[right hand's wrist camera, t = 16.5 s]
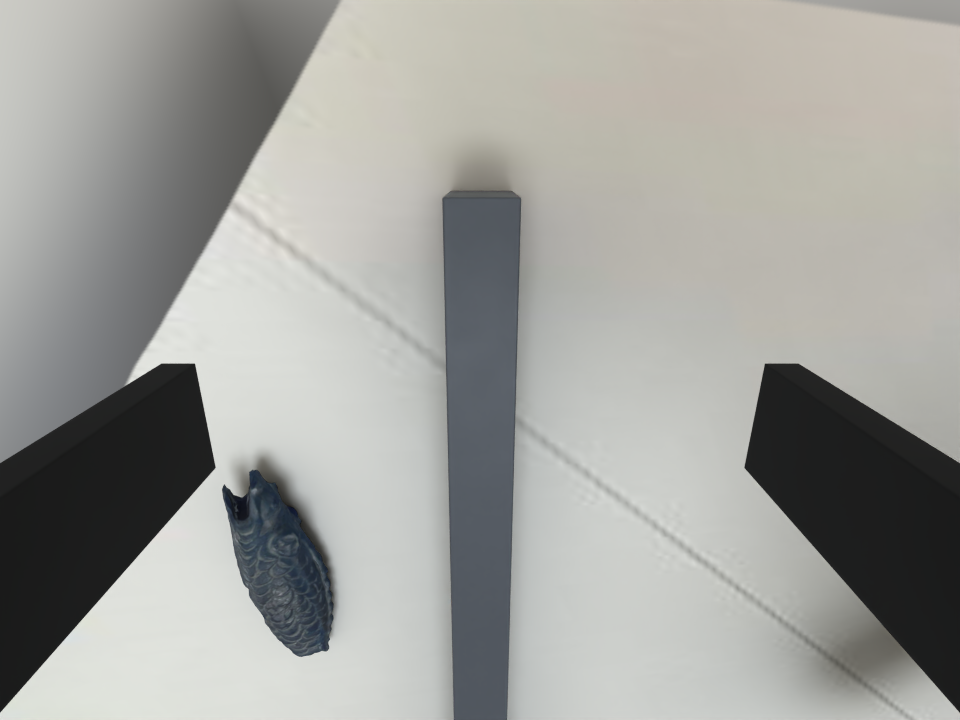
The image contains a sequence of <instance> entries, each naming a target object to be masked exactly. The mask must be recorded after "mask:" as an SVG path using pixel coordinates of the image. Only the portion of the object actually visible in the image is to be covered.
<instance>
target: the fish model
mask: <svg viewBox="0 0 960 720" xmlns="http://www.w3.org/2000/svg"><path fill="white" fill-rule="evenodd" d="M249 475H250V487H249V491H248V493H247V494H246V495H245V496H244V497H242V498H241V497H238V496H235V495H233V494H232V492H231V491H230V489H228V488H227V487H226V486H225V484H224V486H223V489H222V492H223V499H224V502H225V506H226V510H227V512H228V519H229V522H230V527H231V533H232V538H233V545H234V551H235V556H236V559H237V564H238V567H239V570H240V574H241V577H242V581H243V583H244V585H245V587H247V588H248V589H249V596H250V598H251V600H252V601H253V603H254V604H255V606H256V607H257V608H258V610H259V611H260V612H261V614H262V615H263V617H264V619H265V623H266V625H267V626H268V627H269V628H270V630H271V631H272V632H273V634H274V635H275V636H276V637H277V639H278V640H279V641H281V642H282V643H283V644H284V645H285V646H286V647H287V648H289V649H290V650H291V651H292V652H293V653H294V654H295V655H297V656H299V657H302V656H308V655H312V654H314V653H317V652H320V651H328V649H329V645H328V641H329V640H330V638H329V634H330V631H331V623H332V621H333V615H332V610H333V603H332V601H331V598H332V593H331V591H330V590H329V588H330V580H329V579H328V577H327V575H326V573H327V572H328V569H327V568H326V566H325V565H324V563H323V562H322V557H321V555H320V553H319V552H318V551H317V550H315V546H314V545H313V544H312V542H311V541H310V540H309V538H308V537H307V536H306V534H305V533H304V532H303V530H302V529H301V527H300V523H301V520H300V519H299V517H298V513H297V511H296V510H295V509H294V508H292V507H289V506H286V505H285V504H284V503H283V501H282V500H281V497H280V495H279V493H278V488H277V485H276V483H268V482H266V481H265V480H264V479H263V478H262V476H261V474H260V473H259V472H258V471H257V470H252V471H250V472H249Z"/></svg>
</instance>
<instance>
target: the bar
mask: <svg viewBox="0 0 960 720" xmlns="http://www.w3.org/2000/svg"><path fill="white" fill-rule="evenodd" d="M520 219H521V198H520V197H519V196H518V195H516V194H515V193H514V192H512V191H450V192H449V193H448V194H447V195H446V196H444V197H443V242H444V288H445V333H446V379H447V424H448V470H449V515H450V561H451V606H452V652H453V697H454V720H507V699H508V662H509V625H510V588H511V551H512V514H513V477H514V440H515V403H516V367H517V330H518V293H519V256H520Z"/></svg>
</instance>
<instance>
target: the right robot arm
mask: <svg viewBox="0 0 960 720" xmlns="http://www.w3.org/2000/svg"><path fill="white" fill-rule="evenodd" d="M214 469H215V463H214V457H213V452H212V447H211V442H210V437H209V432H208V427H207V422H206V417H205V412H204V407H203V402H202V397H201V392H200V387H199V382H198V377H197V372H196V367H195V364H160V365H159V366H157V367H155V368H154V369H152V370H151V371H149V372H147V373H146V374H144V375H142V376H141V377H139V378H138V379H136V380H134V381H133V382H131V383H130V384H128V385H126V386H125V387H123V388H122V389H120V390H118V391H117V392H115V393H113V394H112V395H110V396H108V397H107V398H105V399H104V400H102V401H100V402H99V403H97V404H96V405H94V406H92V407H91V408H89V409H87V410H86V411H84V412H83V413H81V414H79V415H78V416H76V417H74V418H73V419H71V420H70V421H68V422H66V423H65V424H63V425H62V426H60V427H58V428H57V429H55V430H53V431H52V432H50V433H49V434H47V435H45V436H44V437H42V438H41V439H39V440H37V441H36V442H34V443H32V444H31V445H29V446H27V447H26V448H24V449H23V450H21V451H19V452H18V453H16V454H15V455H13V456H11V457H10V458H8V459H6V460H5V461H3V462H2V463H0V712H1V711H2V710H3V709H4V708H5V706H6V705H7V704H8V703H9V702H10V701H11V700H12V699H13V697H14V696H15V695H16V694H17V693H18V692H19V691H20V689H21V688H22V687H23V686H24V685H25V684H26V683H27V681H28V680H29V679H30V678H31V677H32V676H33V675H34V674H35V672H36V671H37V670H38V669H39V668H40V667H41V666H42V664H43V663H44V662H45V661H46V660H47V659H48V658H49V656H50V655H51V654H52V653H53V652H54V651H55V650H56V649H57V647H58V646H59V645H60V644H61V643H62V642H63V641H64V639H65V638H66V637H67V636H68V635H69V634H70V633H71V631H72V630H73V629H74V628H75V627H76V626H77V625H78V624H79V622H80V621H81V620H82V619H83V618H84V617H85V616H86V614H87V613H88V612H89V611H90V610H91V609H92V608H93V606H94V605H95V604H96V603H97V602H98V601H99V600H100V599H101V597H102V596H103V595H104V594H105V593H106V592H107V591H108V589H109V588H110V587H111V586H112V585H113V584H114V583H115V581H116V580H117V579H118V578H119V577H120V576H121V575H122V574H123V572H124V571H125V570H126V569H127V568H128V567H129V566H130V564H131V563H132V562H133V561H134V560H135V559H136V558H137V556H138V555H139V554H140V553H141V552H142V551H143V550H144V548H145V547H146V546H147V545H148V544H149V543H150V542H151V541H152V539H153V538H154V537H155V536H156V535H157V534H158V533H159V531H160V530H161V529H162V528H163V527H164V526H165V525H166V523H167V522H168V521H169V520H170V519H171V518H172V517H173V516H174V514H175V513H176V512H177V511H178V510H179V509H180V508H181V506H182V505H183V504H184V503H185V502H186V501H187V500H188V498H189V497H190V496H191V495H192V494H193V493H194V492H195V491H196V489H197V488H198V487H199V486H200V485H201V484H202V483H203V481H204V480H205V479H206V478H207V477H208V476H209V475H210V473H211V472H212V471H213V470H214ZM745 469H746V470H747V471H748V472H749V473H750V475H751V476H752V477H753V478H754V479H755V480H756V481H757V483H758V484H759V485H760V486H761V487H762V488H763V489H764V491H765V492H766V493H767V494H768V495H769V496H770V497H771V498H772V500H773V501H774V502H775V503H776V504H777V505H778V506H779V508H780V509H781V510H782V511H783V512H784V513H785V514H786V516H787V517H788V518H789V519H790V520H791V521H792V522H793V523H794V525H795V526H796V527H797V528H798V529H799V530H800V531H801V533H802V534H803V535H804V536H805V537H806V538H807V539H808V541H809V542H810V543H811V544H812V545H813V546H814V547H815V549H816V550H817V551H818V552H819V553H820V554H821V555H822V556H823V558H824V559H825V560H826V561H827V562H828V563H829V564H830V566H831V567H832V568H833V569H834V570H835V571H836V572H837V574H838V575H839V576H840V577H841V578H842V579H843V580H844V581H845V583H846V584H847V585H848V586H849V587H850V588H851V589H852V591H853V592H854V593H855V594H856V595H857V596H858V597H859V599H860V600H861V601H862V602H863V603H864V604H865V605H866V606H867V608H868V609H869V610H870V611H871V612H872V613H873V614H874V616H875V617H876V618H877V619H878V620H879V621H880V622H881V624H882V625H883V626H884V627H885V628H886V629H887V630H888V631H889V633H890V634H891V635H892V636H893V637H894V638H895V639H896V641H897V642H898V643H899V644H900V645H901V646H902V647H903V649H904V650H905V651H906V652H907V653H908V654H909V655H910V656H911V658H912V659H913V660H914V661H915V662H916V663H917V664H918V666H919V667H920V668H921V669H922V670H923V671H924V672H925V674H926V675H927V676H928V677H929V678H930V679H931V680H932V681H933V683H934V684H935V685H936V686H937V687H938V688H939V689H940V691H941V692H942V693H943V694H944V695H945V696H946V697H947V699H948V700H949V701H950V702H951V703H952V704H953V705H954V706H955V708H956V709H957V710H958V711H959V712H960V463H958V462H957V461H955V460H954V459H952V458H950V457H949V456H947V455H946V454H944V453H942V452H941V451H939V450H937V449H936V448H934V447H933V446H931V445H929V444H928V443H926V442H924V441H923V440H921V439H920V438H918V437H916V436H915V435H913V434H911V433H910V432H908V431H907V430H905V429H903V428H902V427H900V426H899V425H897V424H895V423H894V422H892V421H890V420H889V419H887V418H886V417H884V416H882V415H881V414H879V413H877V412H876V411H874V410H873V409H871V408H869V407H868V406H866V405H864V404H863V403H861V402H860V401H858V400H856V399H855V398H853V397H852V396H850V395H848V394H847V393H845V392H843V391H842V390H840V389H839V388H837V387H835V386H834V385H832V384H830V383H829V382H827V381H826V380H824V379H822V378H821V377H819V376H818V375H816V374H814V373H813V372H811V371H809V370H808V369H806V368H805V367H803V366H801V365H800V364H765V367H764V372H763V377H762V382H761V387H760V392H759V397H758V402H757V407H756V412H755V417H754V422H753V427H752V432H751V437H750V442H749V447H748V452H747V457H746V463H745Z"/></svg>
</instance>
